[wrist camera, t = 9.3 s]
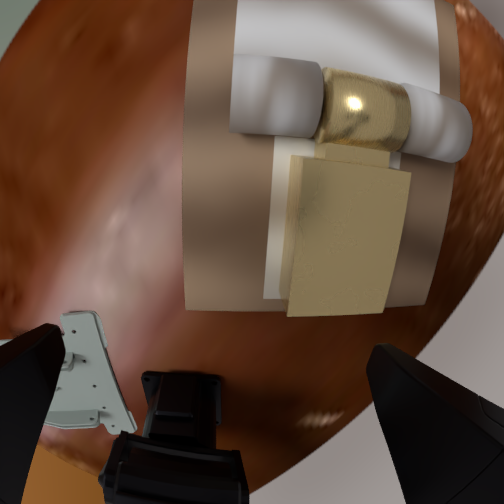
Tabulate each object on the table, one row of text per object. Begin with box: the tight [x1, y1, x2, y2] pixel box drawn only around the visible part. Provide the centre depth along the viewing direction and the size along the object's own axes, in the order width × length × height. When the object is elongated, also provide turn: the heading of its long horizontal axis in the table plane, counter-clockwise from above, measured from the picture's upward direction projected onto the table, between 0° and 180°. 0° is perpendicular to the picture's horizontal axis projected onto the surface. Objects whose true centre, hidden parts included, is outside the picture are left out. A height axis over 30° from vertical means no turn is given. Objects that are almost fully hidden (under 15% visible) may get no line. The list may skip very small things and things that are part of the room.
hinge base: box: [182, 0, 472, 311], centre depth 14 cm, size 24×18×5 cm
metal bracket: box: [0, 311, 137, 434], centre depth 22 cm, size 14×6×15 cm
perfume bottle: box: [279, 67, 411, 317], centre depth 15 cm, size 13×6×4 cm, turn 177°
